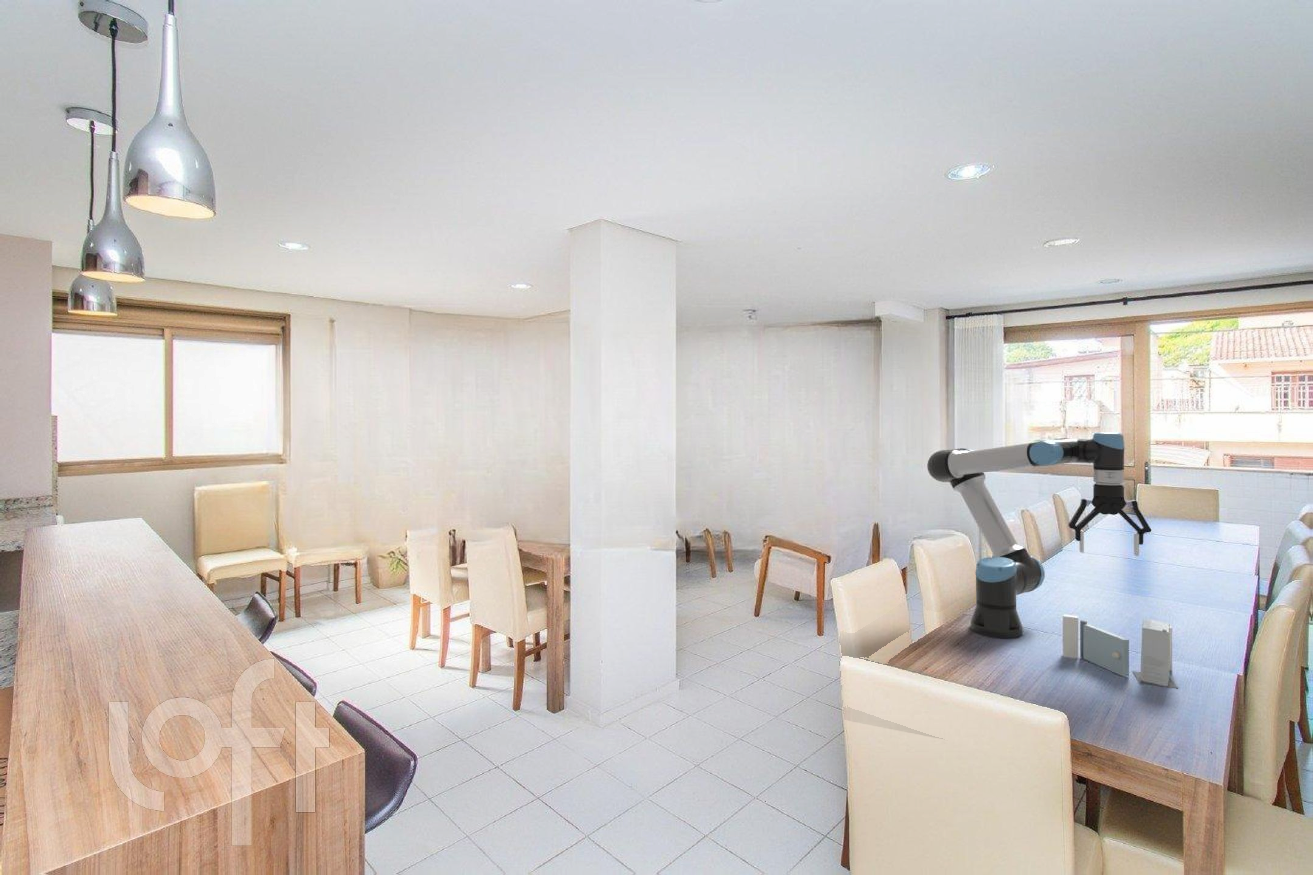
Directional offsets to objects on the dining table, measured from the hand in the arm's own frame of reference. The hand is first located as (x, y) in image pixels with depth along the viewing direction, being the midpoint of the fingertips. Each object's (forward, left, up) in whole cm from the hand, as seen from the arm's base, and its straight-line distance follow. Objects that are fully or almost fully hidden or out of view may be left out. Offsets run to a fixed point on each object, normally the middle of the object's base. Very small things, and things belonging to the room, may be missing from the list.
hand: (1108, 553), depth 189 cm
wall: (0, -13, -29) cm, 32 cm away
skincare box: (+7, -23, -29) cm, 37 cm away
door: (-5, -19, -28) cm, 34 cm away
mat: (+6, -23, -29) cm, 37 cm away
